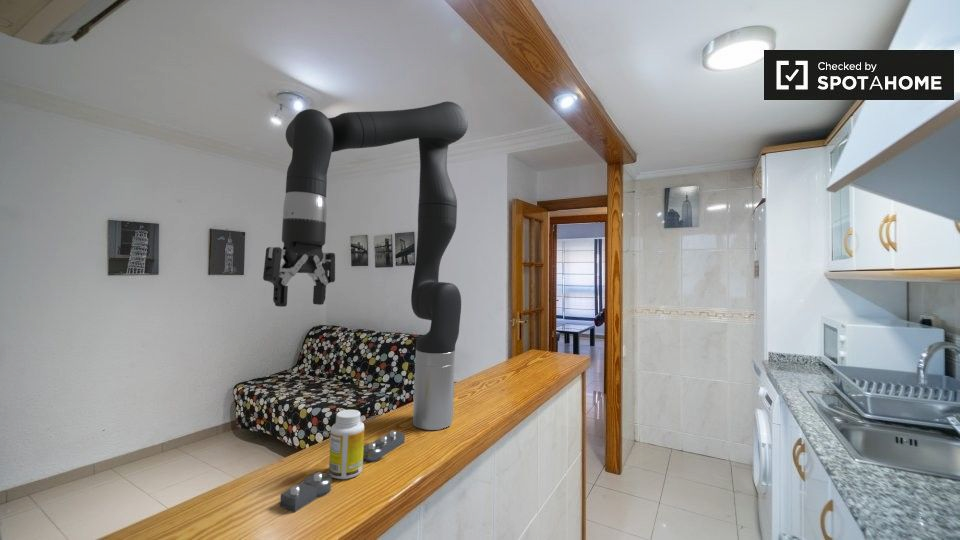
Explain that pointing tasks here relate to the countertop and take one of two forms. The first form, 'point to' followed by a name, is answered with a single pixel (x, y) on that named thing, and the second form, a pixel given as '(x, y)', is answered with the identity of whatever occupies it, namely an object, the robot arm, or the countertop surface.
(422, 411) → the robot arm
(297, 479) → the countertop surface
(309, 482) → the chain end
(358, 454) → the supplement bottle
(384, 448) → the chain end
